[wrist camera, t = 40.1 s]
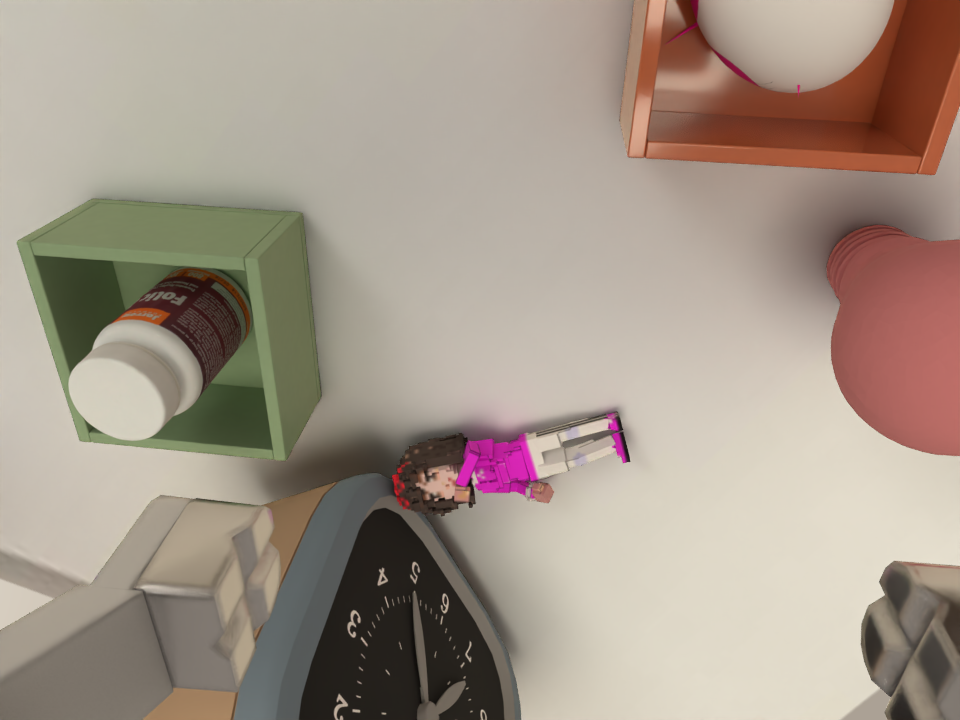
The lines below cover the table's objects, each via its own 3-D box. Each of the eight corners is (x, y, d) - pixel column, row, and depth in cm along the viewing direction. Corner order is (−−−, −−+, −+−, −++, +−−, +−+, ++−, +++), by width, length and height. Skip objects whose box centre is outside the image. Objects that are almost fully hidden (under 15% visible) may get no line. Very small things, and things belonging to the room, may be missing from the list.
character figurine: (607, 371, 37) (385, 428, 39) (625, 430, 33) (374, 491, 34) (627, 456, 40) (420, 506, 41) (647, 521, 35) (414, 574, 37)
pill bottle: (213, 246, 34) (116, 330, 27) (273, 327, 36) (198, 425, 29) (141, 287, 36) (32, 376, 29) (202, 362, 38) (115, 464, 31)
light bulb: (806, 160, 30) (928, 282, 19) (985, 181, 29) (1205, 316, 19) (757, 314, 33) (837, 484, 23) (915, 334, 33) (1068, 516, 23)
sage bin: (138, 380, 39) (79, 441, 35) (92, 198, 34) (15, 241, 30) (321, 396, 39) (286, 461, 34) (302, 212, 33) (258, 258, 29)
